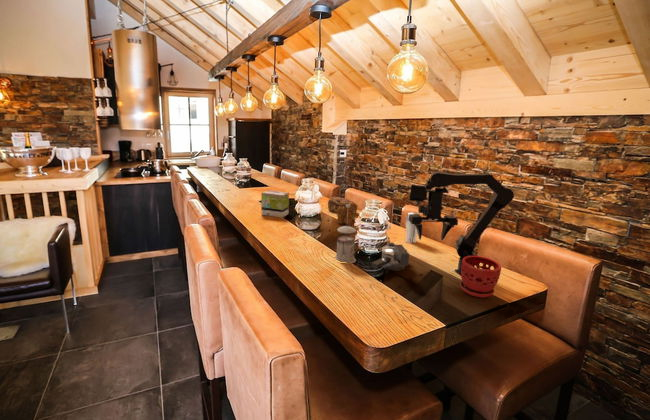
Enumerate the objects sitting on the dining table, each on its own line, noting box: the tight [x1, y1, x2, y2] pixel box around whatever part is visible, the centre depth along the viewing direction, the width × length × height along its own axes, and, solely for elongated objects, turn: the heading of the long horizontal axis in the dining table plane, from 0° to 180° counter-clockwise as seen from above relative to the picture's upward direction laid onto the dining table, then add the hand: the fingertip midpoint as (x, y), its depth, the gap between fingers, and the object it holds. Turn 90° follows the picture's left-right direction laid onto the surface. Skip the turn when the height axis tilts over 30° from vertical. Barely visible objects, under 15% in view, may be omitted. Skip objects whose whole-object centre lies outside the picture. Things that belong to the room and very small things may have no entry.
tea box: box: [260, 189, 290, 218], centre depth 227 cm, size 15×10×15 cm
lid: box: [381, 242, 410, 267], centre depth 147 cm, size 23×10×5 cm, turn 3°
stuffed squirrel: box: [336, 201, 360, 227], centre depth 214 cm, size 10×14×13 cm
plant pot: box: [459, 255, 502, 298], centre depth 129 cm, size 13×13×12 cm
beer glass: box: [404, 211, 421, 244], centre depth 184 cm, size 7×7×15 cm
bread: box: [327, 196, 358, 214], centre depth 240 cm, size 19×11×10 cm, turn 40°
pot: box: [370, 251, 406, 272], centre depth 149 cm, size 23×10×6 cm, turn 139°
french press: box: [334, 205, 357, 264], centre depth 154 cm, size 10×12×25 cm
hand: (430, 239), depth 148 cm, fingers open, 9 cm apart
